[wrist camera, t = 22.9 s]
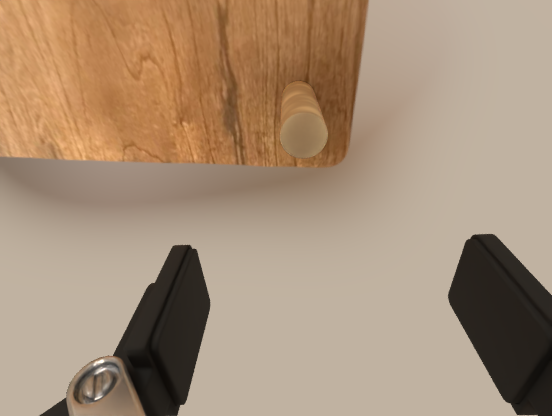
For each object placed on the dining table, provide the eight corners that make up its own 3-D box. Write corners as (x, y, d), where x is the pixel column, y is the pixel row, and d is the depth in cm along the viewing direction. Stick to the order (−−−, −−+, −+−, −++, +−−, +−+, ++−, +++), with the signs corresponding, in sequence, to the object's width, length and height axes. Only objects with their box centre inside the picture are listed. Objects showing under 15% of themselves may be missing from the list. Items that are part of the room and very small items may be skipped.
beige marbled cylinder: (315, 79, 32) (328, 110, 22) (315, 114, 34) (327, 157, 24) (280, 82, 32) (278, 113, 22) (282, 116, 34) (281, 160, 24)
